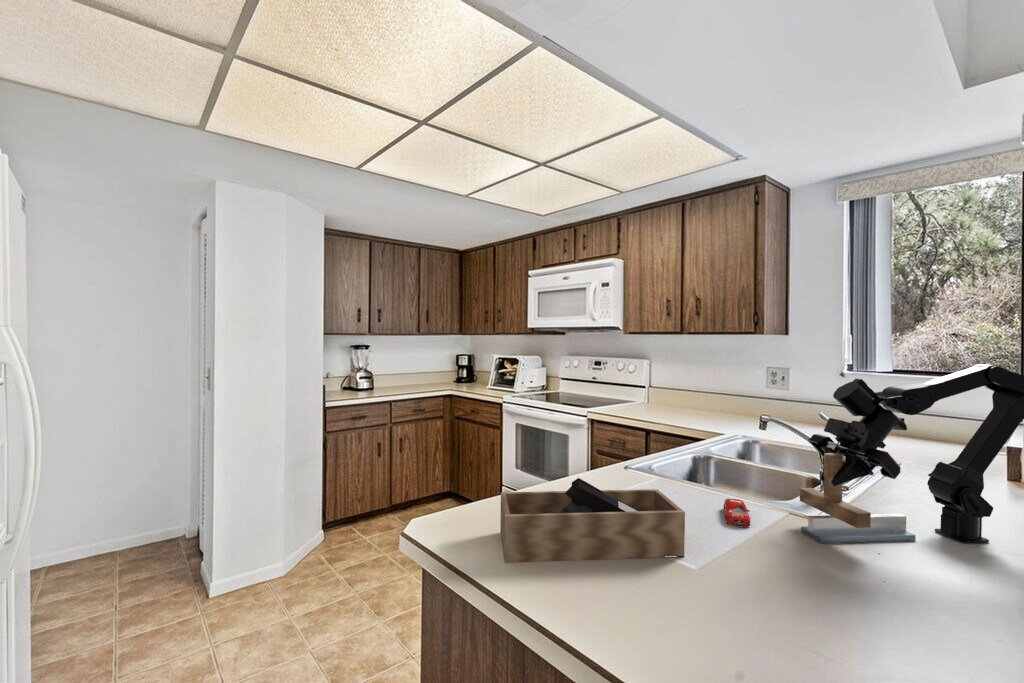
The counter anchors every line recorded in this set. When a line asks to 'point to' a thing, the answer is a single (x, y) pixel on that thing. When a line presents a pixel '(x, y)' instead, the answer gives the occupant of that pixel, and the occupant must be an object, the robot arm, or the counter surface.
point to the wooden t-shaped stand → (834, 496)
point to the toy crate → (589, 528)
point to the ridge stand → (858, 529)
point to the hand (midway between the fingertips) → (827, 482)
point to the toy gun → (592, 500)
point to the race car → (736, 513)
